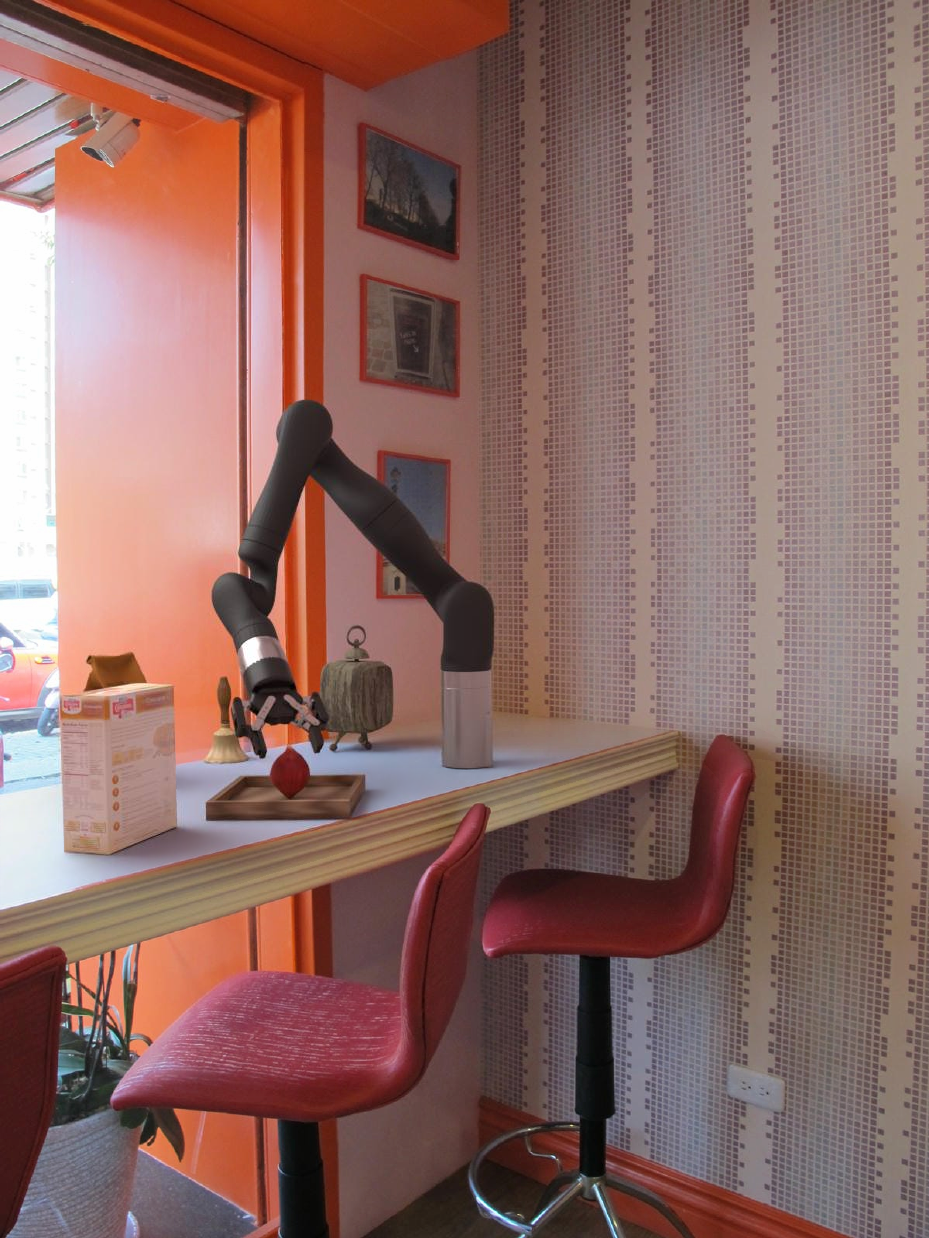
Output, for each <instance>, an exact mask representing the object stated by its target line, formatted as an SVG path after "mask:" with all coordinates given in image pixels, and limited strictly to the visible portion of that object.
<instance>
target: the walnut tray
mask: <svg viewBox="0 0 929 1238" xmlns="http://www.w3.org/2000/svg"><path fill="white" fill-rule="evenodd" d="M365 791H366V774H360V773H359V774H356V773H355V774H310V777H309V781H308V783H307V785H306V786H305V787H304V789H303V790H301V791H300V792H299V793H298V794H296V795H295V796H294V797H292V798H286V797H285V796H284V795H283V794H282V793H281V792H280V791H279V790H278V789H277V788H276V787H275V786H274V785H273V783H272V781H271V777H270V774H269V775H266V774H265V775H255V774H254V775H239V776H238V777H236V778H235V779H234V780H233V781H231V782H230V783H229V784H227V785H226V786H225V787H224V788H223V789H221V790H220V791H218V793H217V792H216V793H215V795H213V796H211V797H210V798H209V799H208V800H206V801H205V821H246V820H247V821H251V820H252V821H254V820H256V821H258V820H259V821H260V820H267V821H268V820H269V821H270V820H273V821H274V820H343V819H344V820H350V819H351V816H352V814H353V813H354V811H355V810H356V807H357V806H358V804H359V802H360V800H361V799H362V797H363V795H364V793H365Z"/></svg>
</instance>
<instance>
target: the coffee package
mask: <svg viewBox="0 0 929 1238" xmlns="http://www.w3.org/2000/svg"><path fill="white" fill-rule="evenodd" d="M85 663H86V664H87V665H90V667H91V669H92V670H91V671H90V672H89V674H88V677H87V679H86V680H87V681H86V683H85V687H84V688H83V691H82V692H85V691H92V690H98V689H104V688H111V687H117V686H123V685H129V684H136V683H147V684H148V682H147V680H146V677H145V674H144V673H143V671H142V669H141V665H140V664H139V662H138V660H137V658H136V656H135V654H134V652H133V651H130V650H129V651H126V652H124V653H121V654H119V655H106V654H104V655H102V654H96V655H94V654H88V656H87V658H86V660H85Z"/></svg>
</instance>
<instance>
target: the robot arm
mask: <svg viewBox="0 0 929 1238" xmlns="http://www.w3.org/2000/svg"><path fill="white" fill-rule="evenodd" d="M333 431H334V424H333V419H332V415H331V414H330V412H329V410H328V409H327V407H325V406H324V405H323V404H322V403H320V402H318V401H316V400H313V399H300V400H297V401H295V402H293V403H291V404H290V405H289V406H287V407H286V409H285V410H284V411H283V413H282V414H281V415H280V418H279V421H278V423H277V426H276V430H275V436H276V437H275V438H276V441H277V449H276V454H275V457H274V460H273V462H272V463H273V464H272V466H271V469H270V472H269V474H268V477H267V480H266V483H265V484H264V486H263V489H262V491H261V493H260V495H259V498H258V499H257V502H256V503H255V506H254V508H253V510H252V513H251V515H250V517H249V520H248V523H247V526H246V527H245V530H244V533H243V536H242V538H241V540H240V541H241V542H240V544H239V547H238V551H237V555H238V557H239V559H240V560H241V561H242V562H243V563H244V565H246V566H247V567H248V568H249V572H250V573H249V575H250V576H249V577H247V576H245V575H243V574H241V573H238V572H233V571H232V572H226V573H223V574H221V575H219V577H218V578H216V580H215V582H214V584H213V586H212V589H211V602H212V603H211V604H212V607H213V609H214V612H215V613H216V615H217V616H218V618H219V620H220V622H221V623H222V625H223V627H224V628H225V629H226V632H228V634H229V635H230V637H231V638H232V641H233V645H234V649H235V652H236V656H237V659H238V660H237V661H238V666H239V667H238V668H239V673H240V676H241V677H242V681H243V684H244V687H245V691H246V695H247V697H248V700H242V698H241V697H239V696H235V697H234V698H233V699H232V703H231V705H230V713H231V719H232V722H233V728H234V729H233V730H235V734H236V736H237V737H238V739H241V738H244V737H245V738H248V739H249V740H250V743H251V744H250V745H251V746H252V747H251V748H252V751H253V754H254V755H255V756H258V758H259V759H260V760H261V759H266V757H267V754H268V747H267V744H266V741H265V738H264V735H263V731H262V730H263V728H265V726H266V724H268V725H269V726H271V727H272V726H278V725H290V724H292V725H293V726H295V727H296V728H297V729H302V730H304V731H305V732H306V733H307V735H308V739H309V742H310V745H311V748H312V751H313V753H314V754H320V753H321V750H322V749H323V746H325V739H324V737H323V734H322V732H324V731H325V729H326V726H327V723H328V721H329V716H328V714H327V712H326V709H325V707H324V705H323V702H322V700H321V698H320V692H317V691H312V692H311V695H307V696H302V695H301V694H300V693H299V692H298V689H297V685H296V682H295V679H294V675H293V673H292V670H291V667H290V664H289V660H288V658H287V655H286V653H285V650H284V648H283V646H282V644H281V642H280V639H279V636H278V633H277V631H276V628H275V624H274V623H273V621H272V620H271V619H270V618H269V616H270V615H271V613H272V610H273V608H274V606H275V602H276V595H277V583H278V582H277V581H278V571H279V562H280V559H281V556H282V554H283V551H284V548H285V545H286V543H287V540H288V536H289V534H290V531H291V527H292V525H293V522H294V519H295V515H296V512H297V508H298V506H299V503H300V500H301V498H302V494H303V492H304V488H305V487H306V483H307V481H308V478H309V477H310V478H312V479H313V480H314V482H316V484H318V485H319V486H320V487H321V489H323V490H324V491H325V492H326V493H327V495H328V496H329V497H330V498H331V500H332V501H333V502H334V503H335V504H336V506H337V507H338V508H339V510H341V512H342V513H343V514H344V515H345V517H347V518H348V520H349V521H350V522H351V523H352V524H353V526H355V528H356V529H357V530H358V531H359V532H360V533H361V534H362V536H363V537H364V538H365V539H366V540H367V541H368V542H369V543H370V544H371V545H372V546H373V548H375V550H377V551H378V552H379V553H380V554H381V555H382V556H383V557H384V558H385V559H386V560H387V561H388V562H389V563H390V564H391V565H392V566H393V567H394V568H396V569H397V571H399V572H400V573H401V574H403V576H405V578H406V579H408V581H410V582H411V583H412V584H413V586H415V588H416V589H417V590H418V591H419V592H420V594H421V595H422V597H423V598H424V599H425V600H426V601H427V603H428V604H429V606H430V607H431V608H432V610H433V611H434V612H435V613H436V615H437V616H438V618H439V619H440V620H441V622H442V629H443V633H442V635H443V636H442V637H443V639H442V641H443V642H442V651H441V654H440V655H441V656H440V708H441V713H440V714H441V715H440V720H441V721H440V722H441V725H440V726H441V727H440V728H441V730H440V731H441V765H442V766H443V767H447V768H456V769H478V768H485V767H486V768H487V767H494V766H493V765H494V763H493V762H494V760H493V759H494V758H493V756H494V753H493V752H494V751H493V749H494V748H493V742H494V741H493V699H492V698H493V696H492V695H493V694H492V693H493V692H492V659H493V656H494V650H495V607H494V600H493V597H492V595H491V593H490V592H489V591H488V589H487V588H486V587H485V586H483V585H482V584H480V583H478V582H475V581H469V580H467V579H466V578H465V577H464V576H462V575H461V574H460V573H458V571H456V570H455V568H453V566H451V564H449V562H448V561H446V559H445V558H444V557H443V556H442V555H441V553H439V551H438V549H437V548H436V546H435V545H434V543H433V541H432V540H431V537H430V536H429V534H428V533H427V531H426V529H425V528H424V527H423V525H422V524H421V521H419V519H418V518H417V517H416V515H415V514H414V513H413V512H412V511H411V510H410V509H409V507H408V506H407V505H406V504H405V503H404V502H403V500H402V499H400V497H399V496H398V495H396V493H395V492H394V491H393V490H391V489H390V488H389V487H388V486H386V485H385V484H384V483H383V482H381V481H380V480H378V479H377V478H375V477H374V476H372V475H371V474H369V473H368V472H366V471H364V470H363V469H361V468H360V467H359V466H357V465H356V464H355V463H354V462H353V461H351V459H350V458H349V457H348V456H347V455H346V454H345V452H343V450H342V449H341V448H340V446H339V445H338V444H337V443H336V441H335V440H334V439H333V433H334V432H333ZM248 710H249V712H251V713H252V714H254V715H255V716H256V718H254V719H255V720H254V721H253V723H252V724H251V725H250V724H247V719H246V713H247V711H248ZM310 711H311V713H310ZM297 715H299V717H297Z"/></svg>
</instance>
